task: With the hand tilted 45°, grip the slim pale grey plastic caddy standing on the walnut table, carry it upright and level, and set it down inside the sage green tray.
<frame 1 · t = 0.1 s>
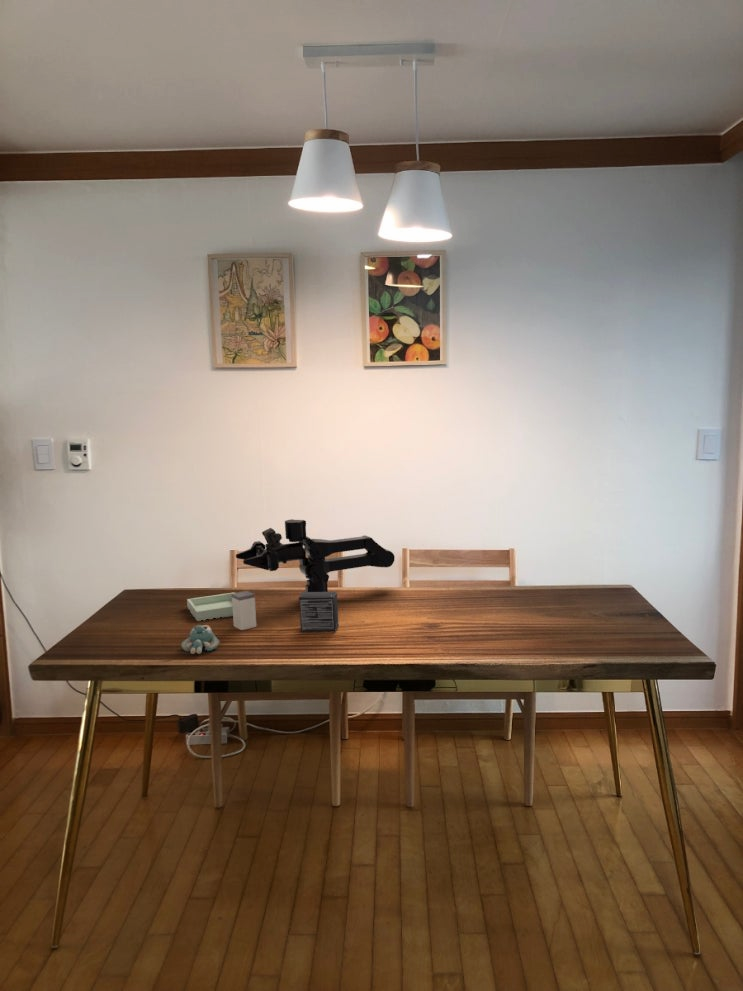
hand: (239, 559, 253), 17 cm above the table, tool horizontal, fingers open, 9 cm apart
tray: (216, 610, 255), on the table
small box: (319, 629, 234), on the table
stuffed animal: (200, 650, 221), on the table
caddy: (245, 626, 239), on the table
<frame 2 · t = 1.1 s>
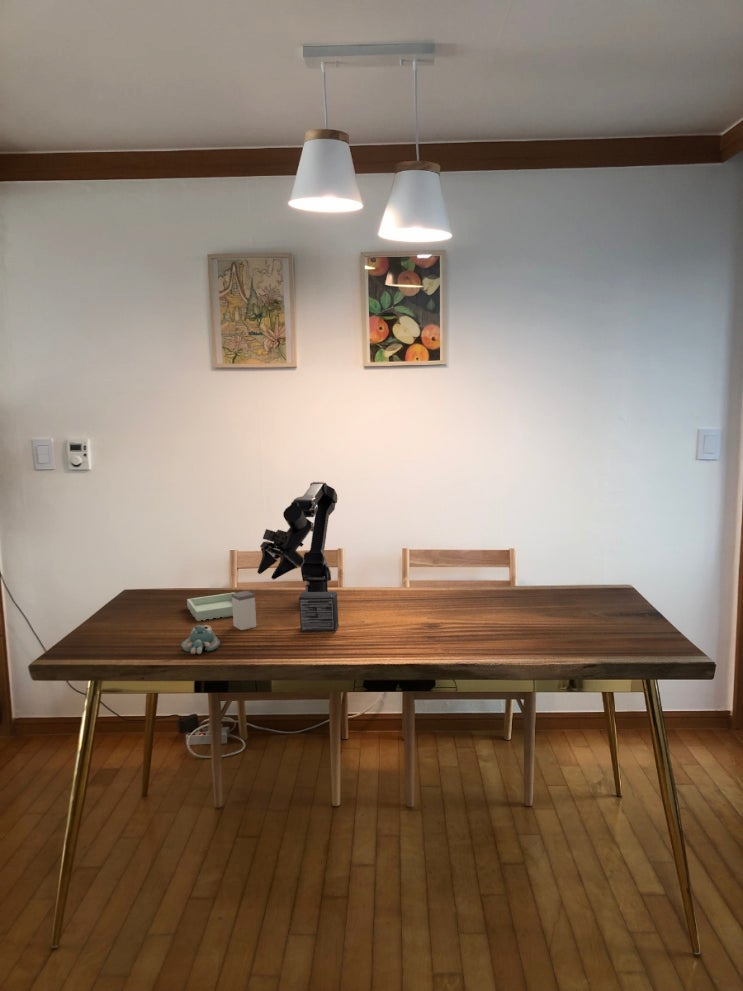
hand: (265, 575, 241), 14 cm above the table, tool tilted 45°, fingers open, 9 cm apart
nothing on the table moved.
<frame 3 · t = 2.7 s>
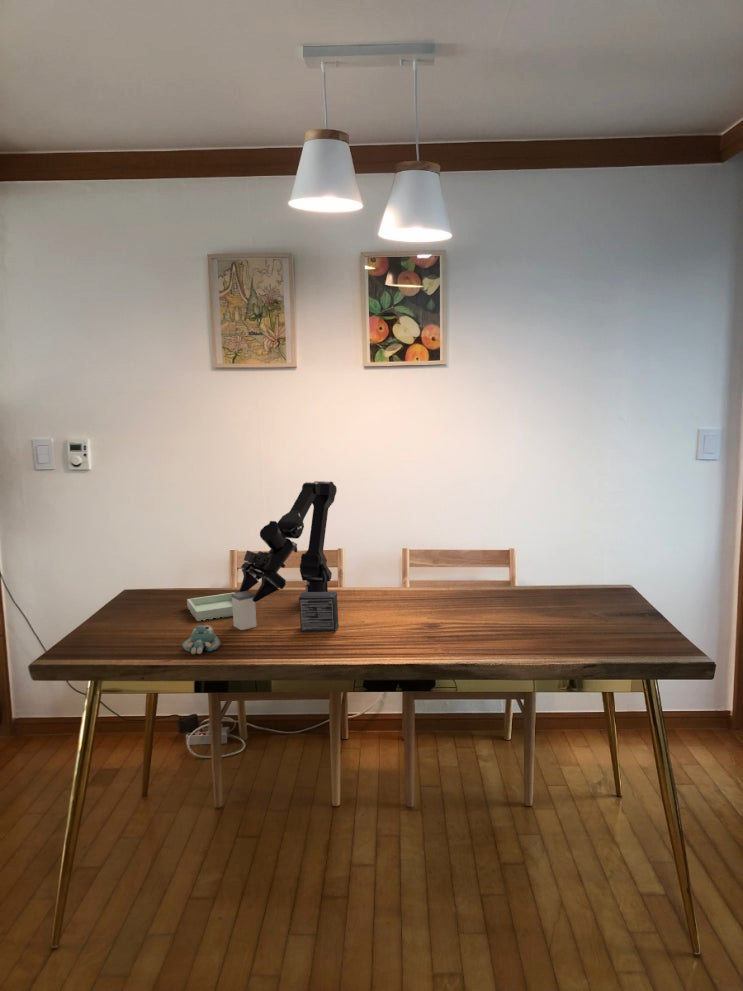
hand: (246, 598, 238), 9 cm above the table, tool tilted 45°, fingers open, 9 cm apart
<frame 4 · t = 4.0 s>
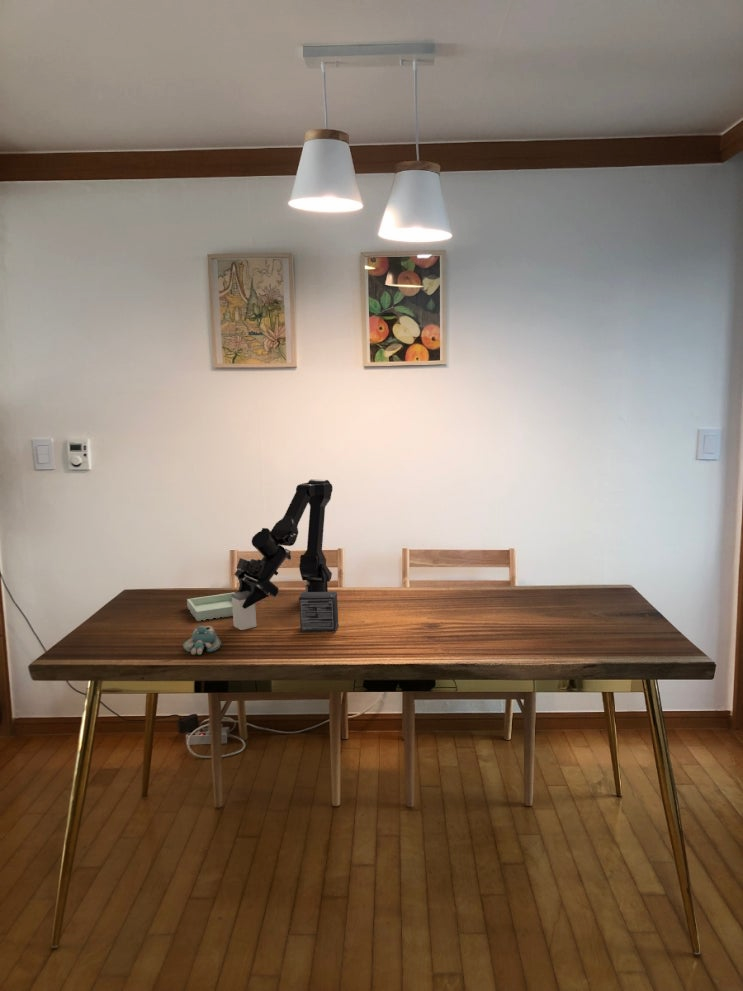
hand: (239, 605, 237), 7 cm above the table, tool tilted 45°, fingers closed on caddy, 5 cm apart
caddy: (245, 626, 239), on the table, touching gripper
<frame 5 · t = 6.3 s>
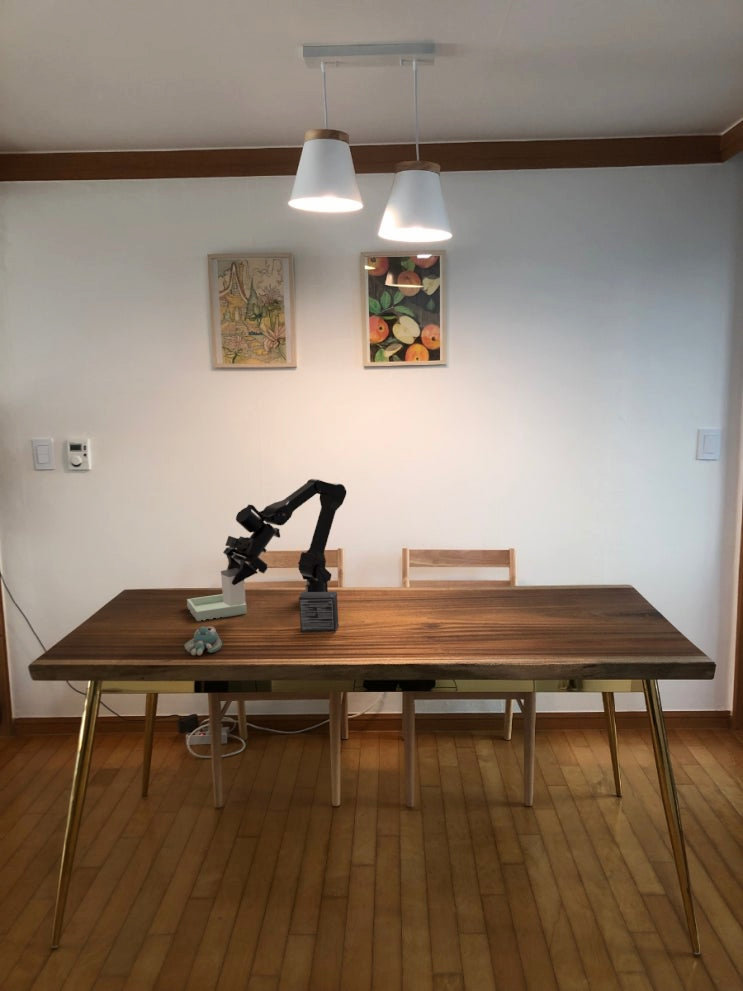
hand: (228, 582, 242), 12 cm above the table, tool tilted 45°, fingers closed on caddy, 5 cm apart
caddy: (234, 602, 243), point 6 cm above the table, touching gripper
when the fingers open (9 cm above the table, at t = 8.7 s): caddy drops 1 cm, resting on tray.
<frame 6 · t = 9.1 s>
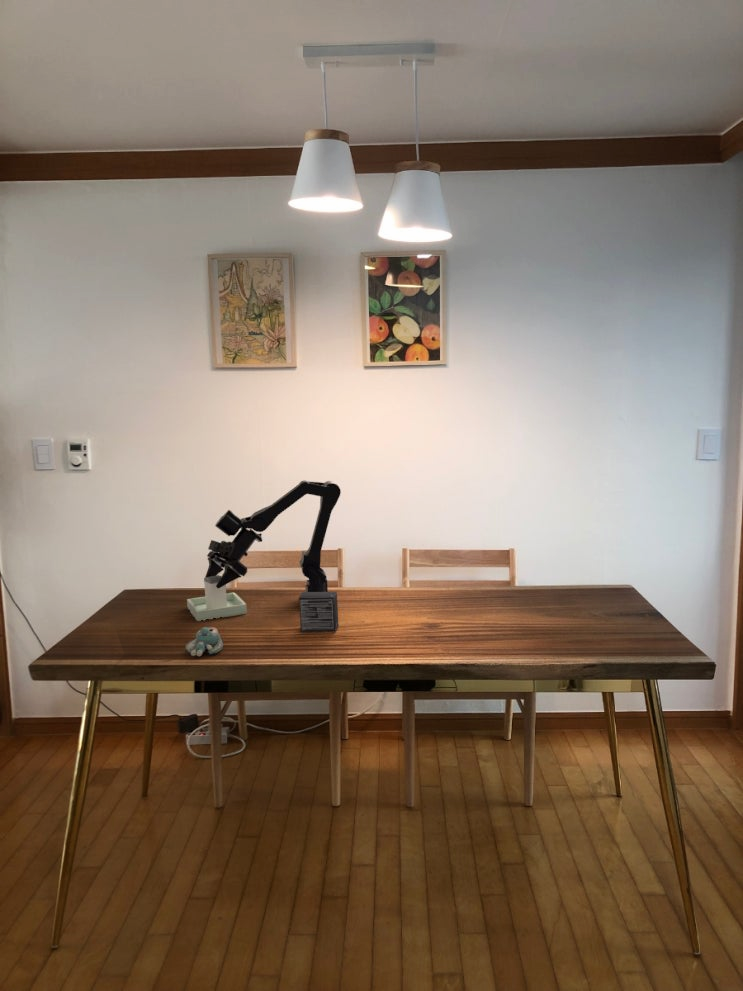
hand: (211, 584, 253), 9 cm above the table, tool tilted 45°, fingers open, 9 cm apart
caddy: (216, 608, 255), point 1 cm above the table, touching tray
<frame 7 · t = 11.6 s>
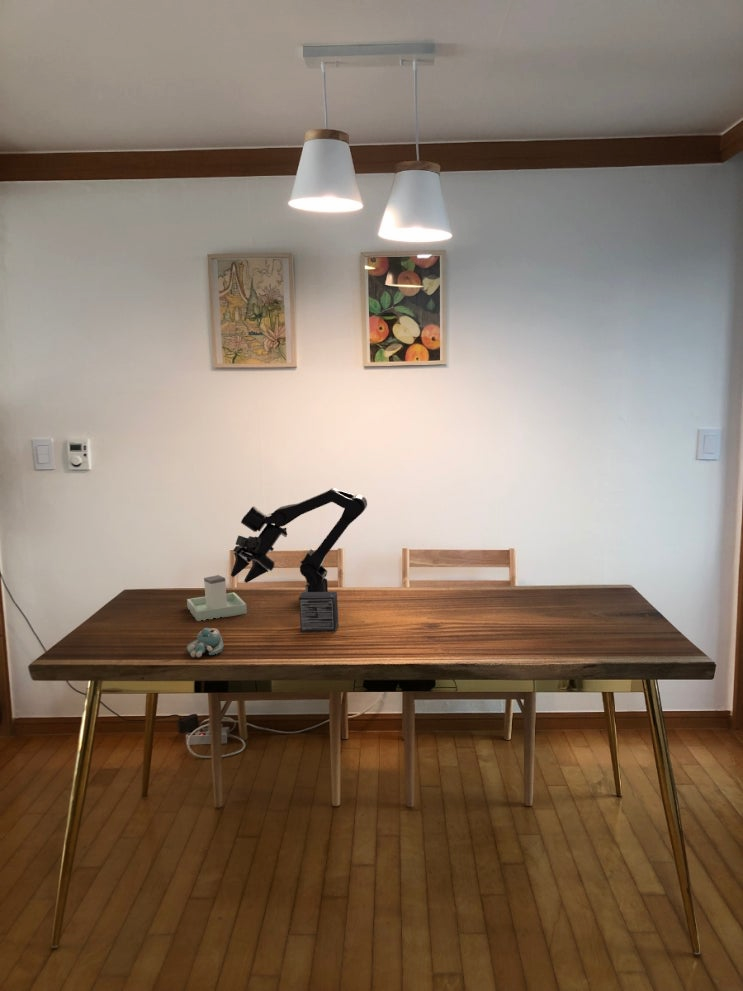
hand: (238, 579, 258), 9 cm above the table, tool tilted 45°, fingers open, 9 cm apart
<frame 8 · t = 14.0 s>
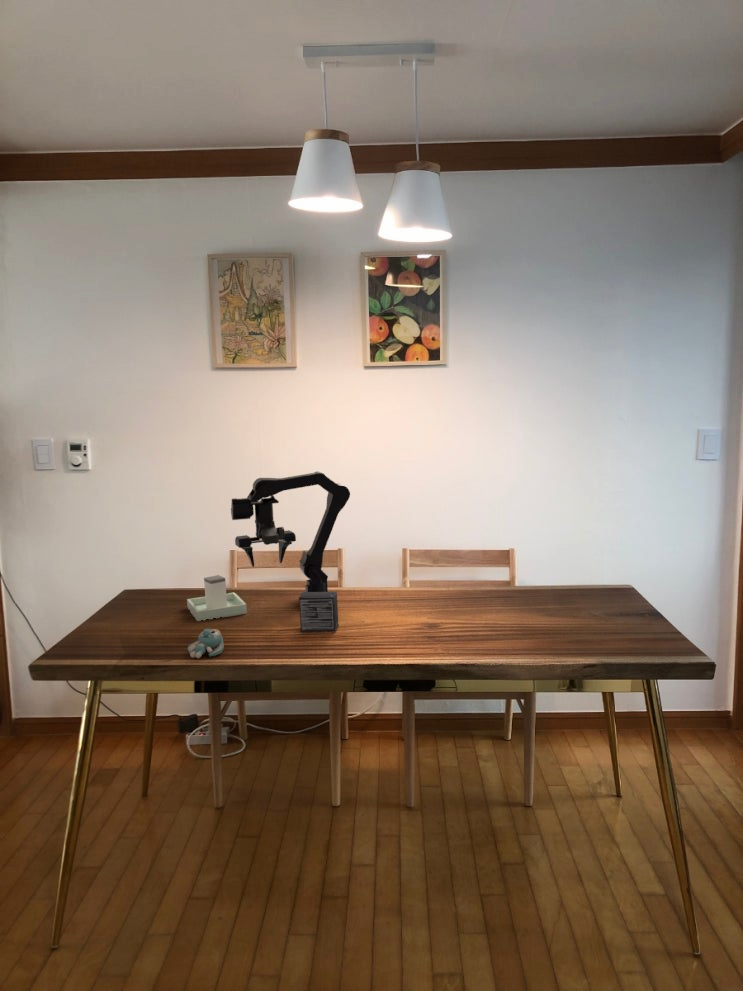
hand: (267, 565, 259), 13 cm above the table, tool pointing down, fingers open, 9 cm apart
at the end: caddy inside the target area on the tray (0.0 cm from its centre), point 0.8 cm above the tray's base; caddy tilted 0°; the gripper is holding nothing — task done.
